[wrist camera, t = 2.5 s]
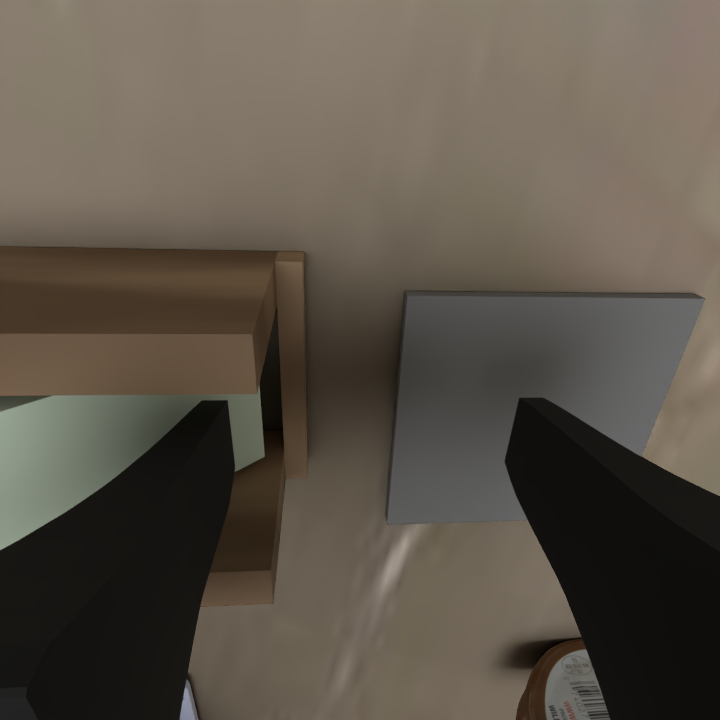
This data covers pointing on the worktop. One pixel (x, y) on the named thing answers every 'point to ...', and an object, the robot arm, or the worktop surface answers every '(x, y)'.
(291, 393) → the pocket block
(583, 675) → the tin
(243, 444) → the sage bar
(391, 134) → the worktop surface
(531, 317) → the mat
